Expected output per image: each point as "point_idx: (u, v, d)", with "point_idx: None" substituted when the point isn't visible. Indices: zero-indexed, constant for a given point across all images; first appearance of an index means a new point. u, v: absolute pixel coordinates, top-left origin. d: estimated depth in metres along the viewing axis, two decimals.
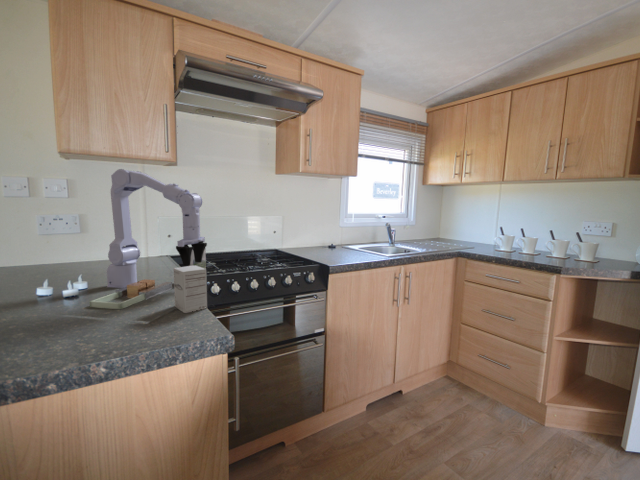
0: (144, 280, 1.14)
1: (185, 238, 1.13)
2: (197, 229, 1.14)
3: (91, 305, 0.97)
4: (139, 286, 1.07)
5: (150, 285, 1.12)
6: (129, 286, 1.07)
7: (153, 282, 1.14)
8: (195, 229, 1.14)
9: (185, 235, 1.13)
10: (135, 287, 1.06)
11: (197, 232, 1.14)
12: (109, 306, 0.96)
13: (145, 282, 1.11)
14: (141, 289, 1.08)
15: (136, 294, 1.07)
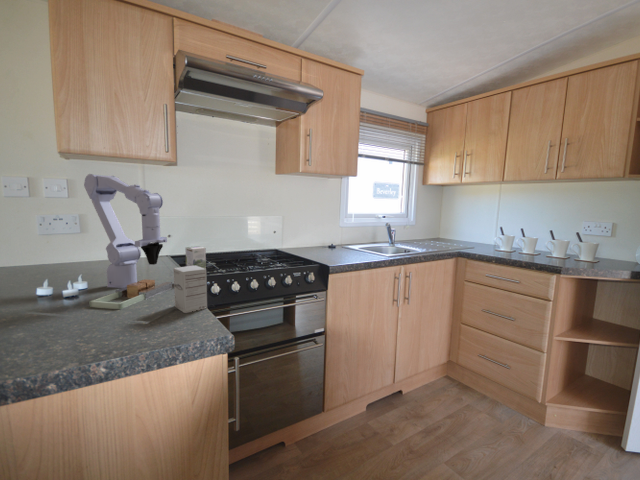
0: (144, 280, 1.14)
1: (144, 238, 1.13)
2: (156, 229, 1.14)
3: (91, 305, 0.97)
4: (139, 286, 1.07)
5: (150, 285, 1.12)
6: (129, 286, 1.07)
7: (153, 282, 1.14)
8: (154, 229, 1.13)
9: (144, 236, 1.13)
10: (135, 287, 1.06)
11: (156, 232, 1.14)
12: (109, 306, 0.96)
13: (145, 282, 1.11)
14: (141, 289, 1.08)
15: (136, 294, 1.07)
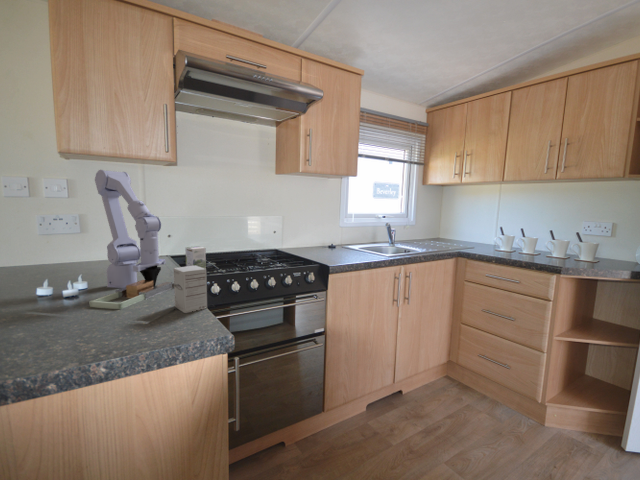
0: (142, 281, 1.13)
1: (142, 262, 1.12)
2: (155, 253, 1.13)
3: (91, 305, 0.97)
4: (138, 286, 1.07)
5: (148, 285, 1.11)
6: (128, 286, 1.06)
7: (151, 283, 1.13)
8: (152, 253, 1.13)
9: (142, 259, 1.12)
10: (134, 287, 1.06)
11: (155, 256, 1.13)
12: (109, 306, 0.96)
13: None
14: (140, 289, 1.08)
15: (135, 294, 1.06)
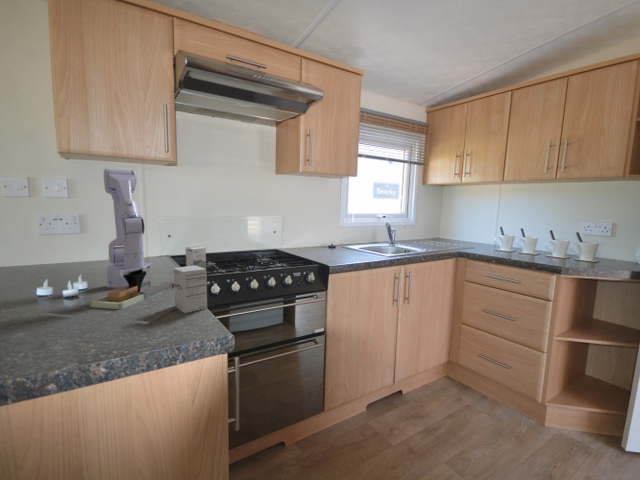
0: (126, 286, 1.05)
1: (126, 266, 1.05)
2: (139, 256, 1.06)
3: (91, 305, 0.97)
4: (121, 293, 0.99)
5: (132, 291, 1.04)
6: (110, 293, 0.99)
7: (136, 288, 1.06)
8: (137, 256, 1.05)
9: (125, 263, 1.05)
10: (116, 294, 0.99)
11: (139, 259, 1.06)
12: (109, 306, 0.96)
13: (126, 288, 1.02)
14: (123, 296, 1.00)
15: (118, 301, 0.99)
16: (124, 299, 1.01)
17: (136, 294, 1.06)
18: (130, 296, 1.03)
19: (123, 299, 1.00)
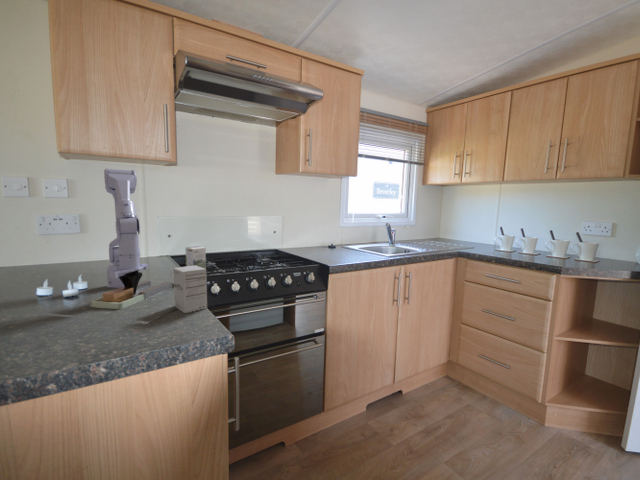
0: (121, 288, 1.03)
1: (121, 267, 1.03)
2: (135, 257, 1.04)
3: (91, 305, 0.97)
4: (116, 295, 0.97)
5: (127, 293, 1.02)
6: (105, 295, 0.97)
7: (131, 290, 1.04)
8: (132, 257, 1.03)
9: (121, 265, 1.03)
10: (111, 296, 0.97)
11: (135, 260, 1.04)
12: (109, 306, 0.96)
13: (122, 290, 1.01)
14: (118, 298, 0.98)
15: None
16: (119, 301, 0.99)
17: (132, 296, 1.04)
18: (125, 298, 1.01)
19: (118, 301, 0.98)
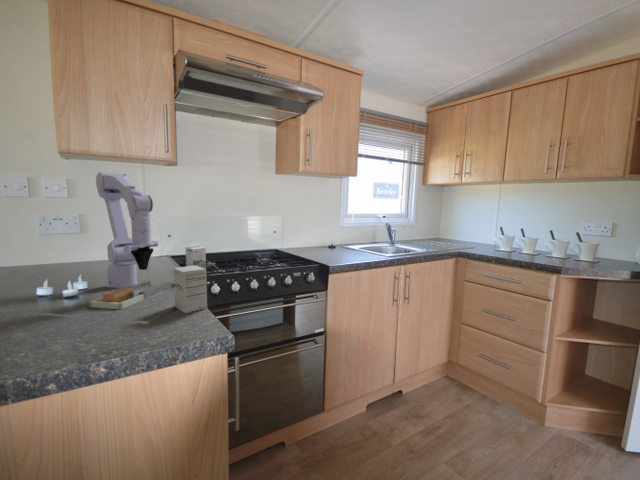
0: (121, 288, 1.03)
1: (133, 242, 1.08)
2: (147, 233, 1.09)
3: (91, 305, 0.97)
4: (116, 295, 0.97)
5: (127, 293, 1.02)
6: (105, 295, 0.97)
7: (131, 290, 1.04)
8: (144, 233, 1.08)
9: (133, 240, 1.08)
10: (111, 296, 0.97)
11: (147, 236, 1.09)
12: (109, 306, 0.96)
13: (122, 290, 1.01)
14: (118, 298, 0.98)
15: None
16: (119, 301, 0.99)
17: (132, 296, 1.04)
18: (125, 298, 1.01)
19: (118, 301, 0.98)
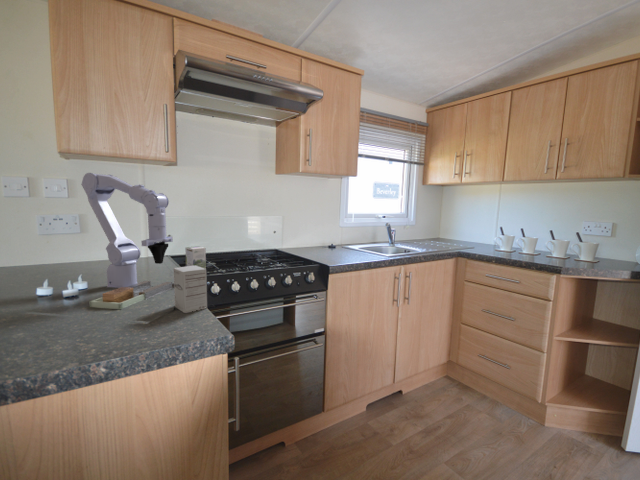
0: (121, 288, 1.03)
1: (150, 238, 1.14)
2: (162, 229, 1.15)
3: (91, 305, 0.97)
4: (116, 295, 0.97)
5: (127, 293, 1.02)
6: (105, 295, 0.97)
7: (131, 290, 1.04)
8: (160, 229, 1.15)
9: (150, 235, 1.14)
10: (111, 296, 0.97)
11: (162, 232, 1.16)
12: (109, 306, 0.96)
13: (122, 290, 1.01)
14: (118, 298, 0.98)
15: None
16: (119, 301, 0.99)
17: (132, 296, 1.04)
18: (125, 298, 1.01)
19: (118, 301, 0.98)
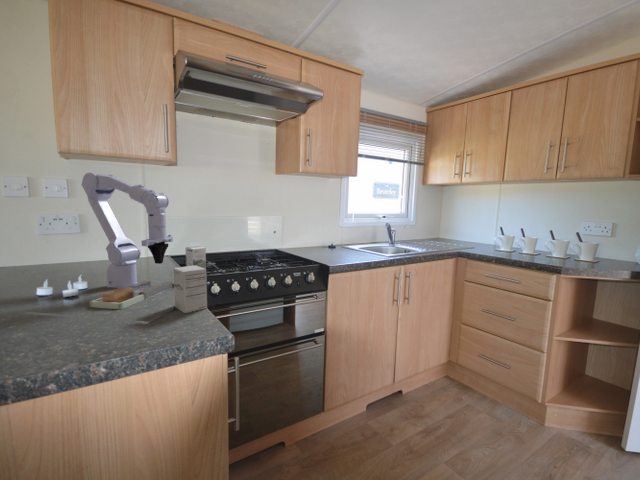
0: (121, 288, 1.03)
1: (150, 238, 1.14)
2: (162, 229, 1.15)
3: (91, 305, 0.97)
4: (116, 295, 0.97)
5: (127, 293, 1.02)
6: (105, 295, 0.97)
7: (131, 290, 1.04)
8: (160, 229, 1.15)
9: (150, 235, 1.14)
10: (111, 296, 0.97)
11: (162, 232, 1.16)
12: (109, 306, 0.96)
13: (122, 290, 1.01)
14: (118, 298, 0.98)
15: None
16: (119, 301, 0.99)
17: (132, 296, 1.04)
18: (125, 298, 1.01)
19: (118, 301, 0.98)
